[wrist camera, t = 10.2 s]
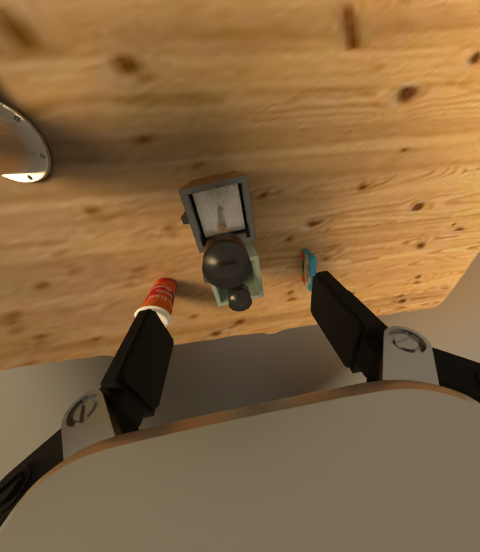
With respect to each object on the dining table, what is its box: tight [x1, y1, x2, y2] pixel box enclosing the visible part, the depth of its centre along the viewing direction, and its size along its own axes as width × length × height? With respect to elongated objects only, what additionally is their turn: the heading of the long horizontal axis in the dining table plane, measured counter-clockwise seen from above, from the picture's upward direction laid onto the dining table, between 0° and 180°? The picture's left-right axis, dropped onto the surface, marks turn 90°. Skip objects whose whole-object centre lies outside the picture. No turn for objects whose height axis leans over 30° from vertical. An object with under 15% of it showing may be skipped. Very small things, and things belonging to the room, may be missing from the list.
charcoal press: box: [178, 171, 256, 253], centre depth 35 cm, size 10×12×18 cm
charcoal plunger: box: [192, 184, 252, 289], centre depth 23 cm, size 8×8×20 cm
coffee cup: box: [134, 278, 176, 327], centre depth 48 cm, size 8×8×15 cm
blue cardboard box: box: [302, 249, 316, 291], centre depth 54 cm, size 12×2×6 cm, turn 12°
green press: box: [203, 241, 264, 307], centre depth 42 cm, size 10×12×18 cm
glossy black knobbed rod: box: [228, 284, 252, 311], centre depth 38 cm, size 8×8×20 cm
